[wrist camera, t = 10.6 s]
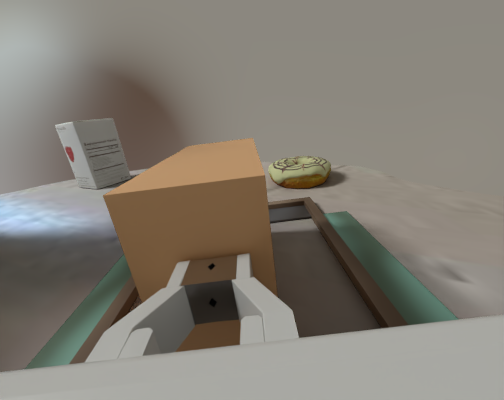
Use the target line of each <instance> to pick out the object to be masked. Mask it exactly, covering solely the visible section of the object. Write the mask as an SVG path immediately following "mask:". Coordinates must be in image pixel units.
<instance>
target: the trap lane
mask: <svg viewBox="0 0 504 400" xmlns="http://www.w3.org/2000/svg"><path fill="white" fill-rule="evenodd" d="M268 209H269V219H270V223H273V222H281V221H290V220H298V219H306V218H312V219H313V221H314V223H315V224H316V226H317V227H318V229H319V230H320V232H321V234H322V235H323V237H324V238H325V240H326V241H327V243H328V245H329V246H330V248H331V249H332V251H333V252H334V254H335V256H336V257H337V259H338V260H339V262H340V263H341V265H342V267H343V268H344V270H345V271H346V273H347V274H348V276H349V278H350V279H351V281H352V282H353V284H354V285H355V287H356V289H357V290H358V292H359V293H360V295H361V296H362V298H363V300H364V301H365V303H366V304H367V306H368V307H369V309H370V311H371V312H372V314H373V315H374V317H375V318H376V320H377V322H378V323H379V325H380V326H381V328H390V327H398V326H407V325H416V324H424V323H433V322H442V321H450V320H459V319H458V318H457V317H456V316H455V315H454V314H452V313H451V312H450V311H449V310H448V309H447V308H446V307H445V306H444V305H443V304H442V303H441V302H440V301H439V300H438V299H437V298H436V297H435V296H434V295H433V294H432V293H431V292H430V291H429V290H428V289H427V288H426V287H424V286H423V285H422V284H421V283H420V282H419V281H418V280H417V279H416V278H415V277H414V276H413V275H412V274H411V273H410V272H409V271H408V270H407V269H406V268H405V267H404V266H403V265H402V264H401V263H400V262H399V261H398V260H397V259H395V258H394V257H393V256H392V255H391V254H390V253H389V252H388V251H387V250H386V249H385V248H384V247H383V246H382V245H381V244H380V243H379V242H378V241H377V240H376V239H375V238H374V237H373V236H372V235H371V234H370V233H369V232H367V231H366V230H365V229H364V228H363V227H362V226H361V225H360V224H359V223H358V222H357V221H356V220H355V219H354V218H353V217H352V216H351V215H350V214H349V213H348V212H347V211H344V212H336V213H328V214H322V212H321V211H320V210H319V208H318V207H317V206H316V204H315V203H314V202H313V201H312V199H311V198H310V197H307V198H299V199H291V200H283V201H274V202H268ZM138 294H139V293H138V290H137V288H136V285H135V282H134V279H133V277H132V274H131V271H130V268H129V266H128V263H127V260H126V257H125V255H124V254H123V256H122V257H121V258H120V259H119V260H118V261H117V263H116V264H115V265H114V266H113V267H112V268H111V270H110V271H109V272H108V273H107V274H106V275H105V276H104V278H103V279H102V280H101V281H100V282H99V283H98V285H97V286H96V287H95V288H94V289H93V290H92V292H91V293H90V294H89V295H88V296H87V297H86V298H85V300H84V301H83V302H82V303H81V304H80V305H79V307H78V308H77V309H76V310H75V311H74V312H73V314H72V315H71V316H70V317H69V318H68V319H67V321H66V322H65V323H64V324H63V325H62V326H61V327H60V329H59V330H58V331H57V332H56V333H55V334H54V336H53V337H52V338H51V339H50V340H49V341H48V343H47V344H46V345H45V346H44V347H43V348H42V349H41V351H40V352H39V353H38V354H37V355H36V356H35V358H34V359H33V360H32V361H31V362H30V363H29V365H28V366H27V367H26V368H25V369H33V368H42V367H51V366H59V365H68V364H76V363H84V362H85V361H86V359H87V358H88V356H89V355H90V353H91V352H92V350H93V349H94V347H95V345H96V344H97V342H98V341H99V339H100V338H101V336H102V335H103V333H104V332H105V331H106V330H107V329H109V328H110V327H111V326H113V325H114V324H115V323H117V322H118V321H119V320H121V319H122V318H123V317H125V316H126V315H127V313H128V311H129V310H130V308H131V306H132V305H133V303H134V301H135V300H136V298H137V296H138Z"/></svg>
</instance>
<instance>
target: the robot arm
mask: <svg viewBox="0 0 504 400" xmlns="http://www.w3.org/2000/svg"><path fill="white" fill-rule="evenodd" d="M230 320H239V321H240V322H241V331H240V345H233V346H225V347H216V348H207V349H199V350H190V351H181V352H175V351H176V350H177V349H178V348H179V346H180V345H181V344H182V342H183V341H184V340H185V339H186V337H187V336H188V335H189V333H190V332H191V331H192V329H193V328H194V327H195V325H197V324H204V323H211V322H218V321H230ZM0 400H504V314H502V315H494V316H485V317H476V318H468V319H459V320H450V321H442V322H433V323H424V324H416V325H407V326H398V327H390V328H381V329H372V330H364V331H355V332H346V333H338V334H329V335H320V336H312V337H303V338H299V336H298V331H297V327H296V323H295V319H294V315H293V311H292V309H290V308H289V307H288V306H287V305H286V304H285V303H283V302H282V301H281V300H280V299H279V298H278V297H277V296H275V295H274V294H273V293H272V292H271V291H270V290H268V289H267V288H266V287H265V286H264V285H263V284H261V283H260V282H259V281H258V280H257V279H256V278H255V277H254V276H253V269H252V262H251V256H250V253H246V254H240V255H233V256H227V257H220V258H209V259H199V260H191V261H190V260H188V261H181V262H178V263H177V265H176V267H175V269H174V271H173V273H172V275H171V278H170V280H169V282H168V284H167V286H166V288H162V289H161V290H159V291H158V292H157V293H155V294H154V295H153V296H151V297H150V298H149V299H147V300H146V301H145V302H143V303H142V304H141V305H139V306H138V307H137V308H135V309H134V310H133V311H131V312H130V313H129V314H127V315H126V316H125V317H123V318H122V319H121V320H119V321H118V322H117V323H115V324H114V325H113V326H111V327H110V328H109V329H107V330H106V331H105V332H104V333H103V335H102V336H101V338H100V339H99V341H98V342H97V344H96V345H95V347H94V349H93V350H92V352H91V353H90V355H89V356H88V358H87V359H86V361H85V362H84V363H76V364H68V365H59V366H51V367H42V368H33V369H24V370H15V371H6V372H0Z"/></svg>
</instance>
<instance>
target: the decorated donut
mask: <svg viewBox="0 0 504 400" xmlns="http://www.w3.org/2000/svg"><path fill="white" fill-rule="evenodd" d="M330 171H331V164H330V162H329V161H327V160H326V159H323V158H319V157H313V156H298V157H292V158H284V159H281V160H278V161H276V162H274V163H272V164H271V165H270V166H269V171H268V172H269V174H270V177H271V179H272V180H273V181H274V182H275V183H276V184H277V185H280V186H283V187H285V188H296V189H298V188H311V187H314V186H317V185H320V184H323V183H324V182H325V181H326V179H327V178H328V176H329V174H330Z"/></svg>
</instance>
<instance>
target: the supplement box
mask: <svg viewBox="0 0 504 400" xmlns="http://www.w3.org/2000/svg"><path fill="white" fill-rule="evenodd" d="M55 127H56V130H57V132H58V135H59V137H60V140H61V142H62V145H63V147H64V149H65V152H66V155H67V157H68V160H69V162H70V164H71V167H72V170H73V172H74V175H75V177H76V180H77V182H78V185H79V187H82V188H90V189H100V188H103V187H107V186H110V185H113V184H116V183H119V182H122V181H126V180H129V179H131V176H130V173H129V169H128V166H127V163H126V160H125V156H124V153H123V150H122V146H121V143H120V140H119V137H118V133H117V130H116V127H115V124H114V120H113V119H112V118H109V119H97V120H85V121H75V122H69V123H63V124H58V125H55Z"/></svg>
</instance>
